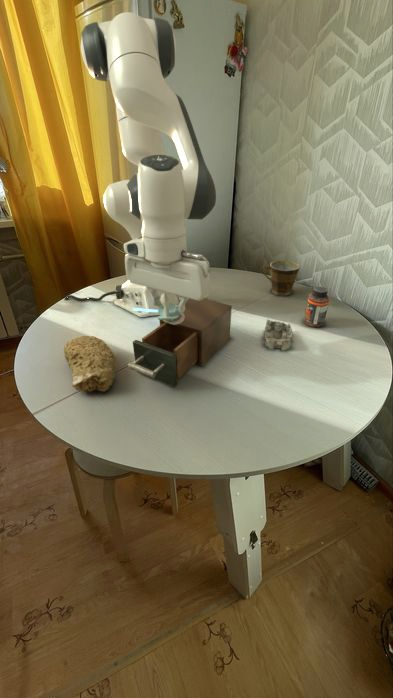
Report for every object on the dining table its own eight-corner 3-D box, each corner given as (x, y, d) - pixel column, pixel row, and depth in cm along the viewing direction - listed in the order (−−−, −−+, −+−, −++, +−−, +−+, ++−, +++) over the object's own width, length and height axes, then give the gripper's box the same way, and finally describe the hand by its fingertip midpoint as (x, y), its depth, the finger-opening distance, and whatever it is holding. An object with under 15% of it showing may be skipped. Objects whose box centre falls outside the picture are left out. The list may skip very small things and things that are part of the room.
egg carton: (290, 352, 95) (292, 339, 92) (261, 348, 96) (263, 335, 94) (291, 332, 103) (293, 320, 101) (265, 329, 105) (267, 317, 103)
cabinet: (201, 366, 90) (201, 330, 84) (162, 352, 95) (159, 317, 90) (230, 338, 101) (231, 305, 95) (192, 327, 106) (192, 295, 100)
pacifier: (185, 312, 82) (159, 311, 82) (185, 287, 79) (158, 286, 79) (184, 328, 76) (156, 327, 76) (184, 301, 73) (155, 301, 73)
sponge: (121, 394, 83) (117, 337, 97) (110, 374, 77) (108, 316, 91) (66, 408, 83) (71, 348, 96) (51, 388, 77) (58, 328, 91)
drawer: (162, 399, 78) (159, 367, 73) (123, 382, 83) (118, 351, 79) (206, 356, 92) (206, 327, 87) (170, 344, 97) (168, 316, 92)
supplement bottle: (300, 319, 110) (306, 285, 103) (317, 317, 111) (324, 283, 104) (309, 329, 105) (316, 294, 98) (327, 326, 106) (335, 291, 100)
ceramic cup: (295, 287, 130) (299, 261, 124) (295, 299, 122) (300, 271, 116) (260, 284, 132) (262, 258, 127) (257, 295, 124) (260, 268, 119)
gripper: (217, 251, 69) (215, 313, 77) (136, 236, 78) (142, 293, 86) (200, 261, 65) (200, 326, 72) (117, 243, 74) (125, 303, 82)
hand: (168, 308), depth 79 cm, fingers closed on pacifier, 5 cm apart
